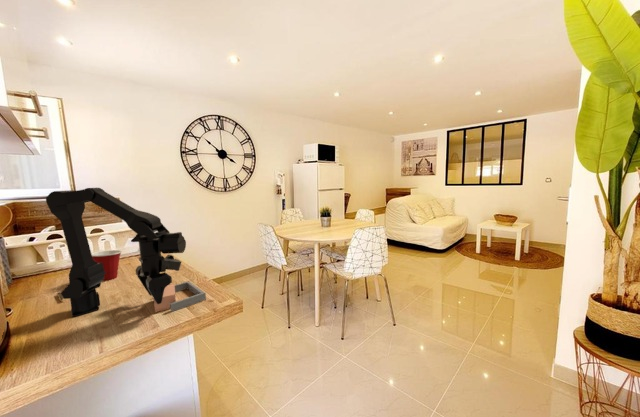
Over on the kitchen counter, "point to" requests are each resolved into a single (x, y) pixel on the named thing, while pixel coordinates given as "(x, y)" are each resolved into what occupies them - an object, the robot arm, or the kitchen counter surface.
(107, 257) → the plastic cup
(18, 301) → the kitchen counter surface
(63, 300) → the shard
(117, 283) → the kitchen counter surface
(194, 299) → the grey u-shaped bracket
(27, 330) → the kitchen counter surface
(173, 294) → the salmon pink block
